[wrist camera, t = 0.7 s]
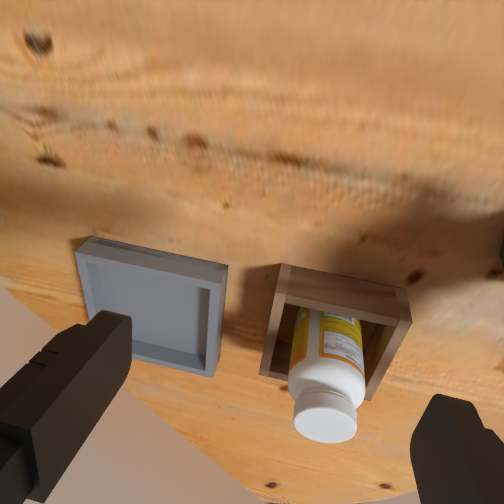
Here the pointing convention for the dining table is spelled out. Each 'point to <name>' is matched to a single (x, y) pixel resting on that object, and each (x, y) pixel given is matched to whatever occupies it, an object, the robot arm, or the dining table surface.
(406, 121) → the dining table surface
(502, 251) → the character mug
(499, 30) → the dining table surface
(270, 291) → the dining table surface
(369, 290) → the holder
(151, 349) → the tray
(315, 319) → the supplement bottle
